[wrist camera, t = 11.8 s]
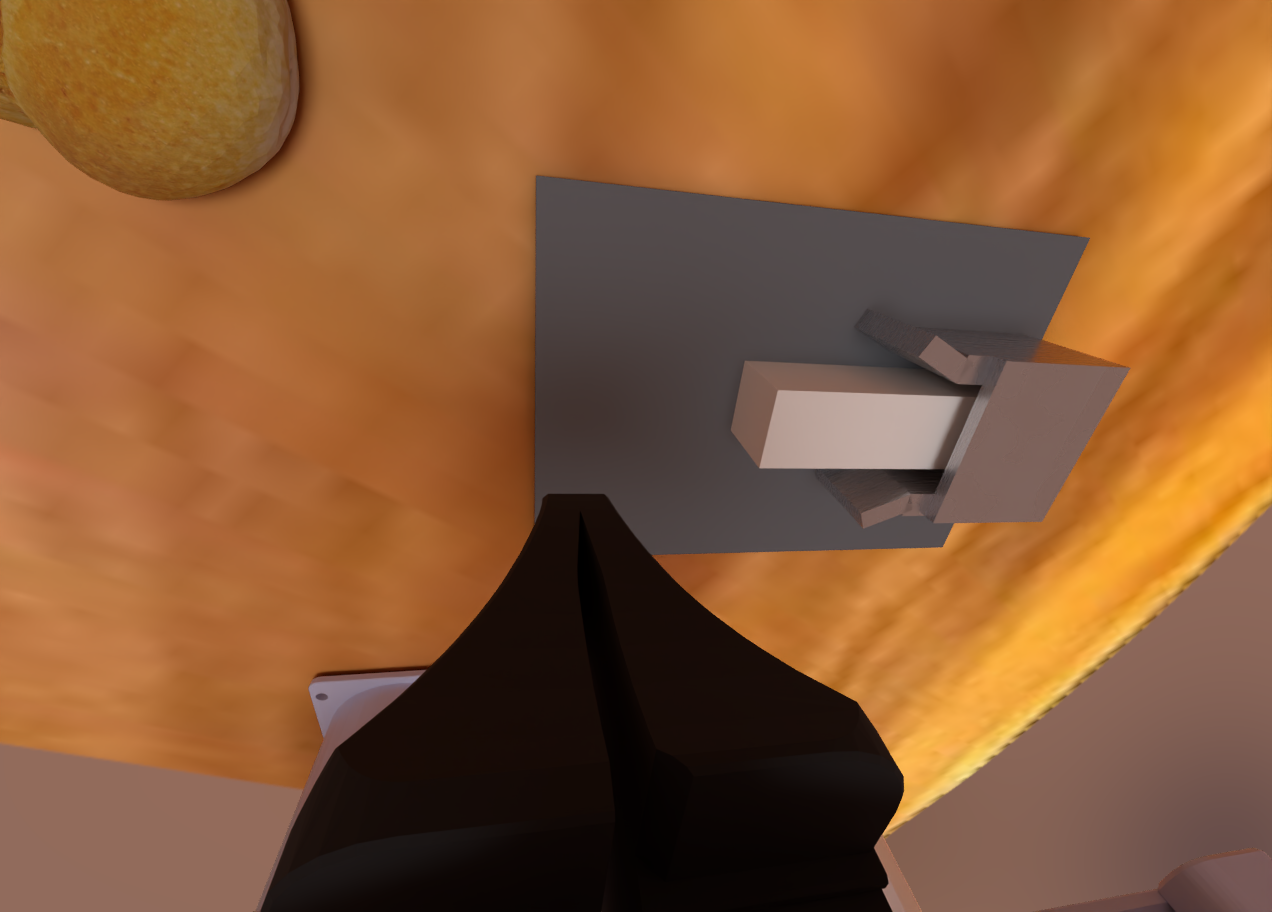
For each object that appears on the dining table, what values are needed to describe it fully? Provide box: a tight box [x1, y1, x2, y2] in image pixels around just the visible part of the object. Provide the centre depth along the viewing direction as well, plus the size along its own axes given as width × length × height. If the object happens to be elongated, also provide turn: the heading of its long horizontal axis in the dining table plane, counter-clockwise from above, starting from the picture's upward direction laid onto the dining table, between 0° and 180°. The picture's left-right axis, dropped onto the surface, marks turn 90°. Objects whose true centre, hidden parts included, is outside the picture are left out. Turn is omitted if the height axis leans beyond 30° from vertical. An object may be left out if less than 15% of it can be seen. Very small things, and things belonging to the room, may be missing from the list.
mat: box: [535, 176, 1090, 555], centre depth 21 cm, size 15×21×1 cm
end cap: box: [814, 309, 1130, 529], centre depth 20 cm, size 8×8×4 cm
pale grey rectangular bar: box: [731, 361, 982, 469], centre depth 20 cm, size 11×3×3 cm, turn 84°
